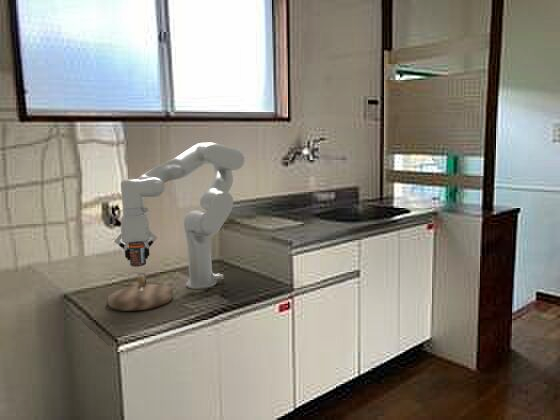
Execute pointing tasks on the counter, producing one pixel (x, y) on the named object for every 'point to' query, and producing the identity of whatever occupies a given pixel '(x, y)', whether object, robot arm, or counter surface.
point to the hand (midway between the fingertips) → (137, 258)
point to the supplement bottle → (137, 254)
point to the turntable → (140, 296)
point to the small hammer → (144, 275)
